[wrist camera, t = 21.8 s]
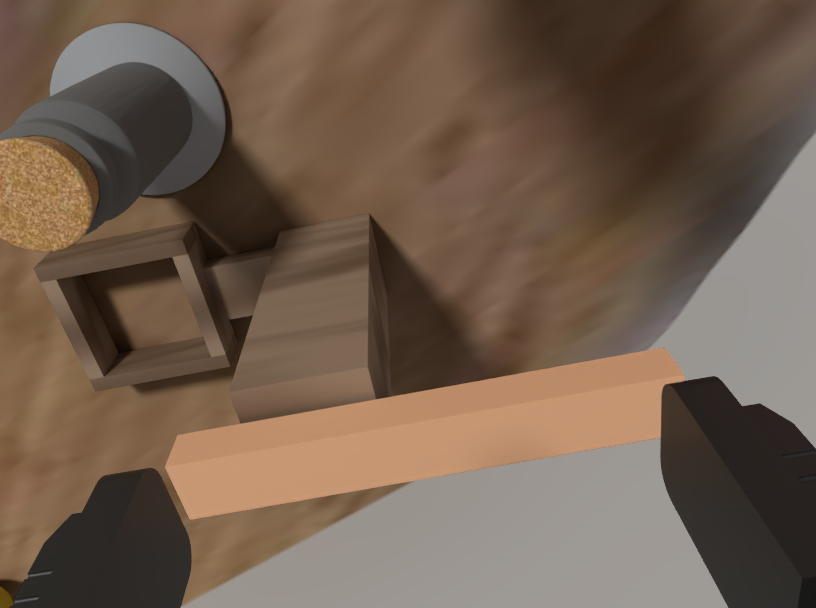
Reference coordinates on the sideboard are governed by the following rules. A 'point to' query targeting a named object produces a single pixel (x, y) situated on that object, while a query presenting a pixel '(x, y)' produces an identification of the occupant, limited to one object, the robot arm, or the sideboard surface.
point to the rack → (240, 297)
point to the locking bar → (422, 434)
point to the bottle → (88, 154)
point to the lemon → (5, 599)
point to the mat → (173, 58)
